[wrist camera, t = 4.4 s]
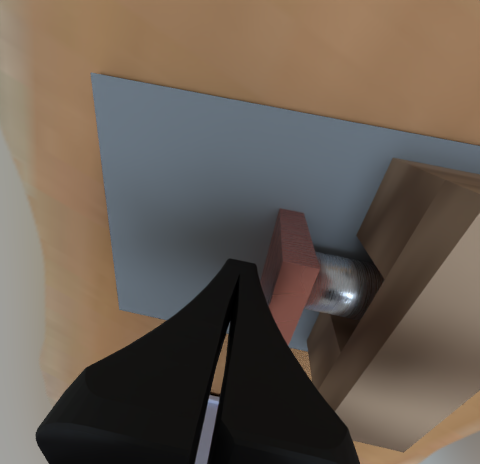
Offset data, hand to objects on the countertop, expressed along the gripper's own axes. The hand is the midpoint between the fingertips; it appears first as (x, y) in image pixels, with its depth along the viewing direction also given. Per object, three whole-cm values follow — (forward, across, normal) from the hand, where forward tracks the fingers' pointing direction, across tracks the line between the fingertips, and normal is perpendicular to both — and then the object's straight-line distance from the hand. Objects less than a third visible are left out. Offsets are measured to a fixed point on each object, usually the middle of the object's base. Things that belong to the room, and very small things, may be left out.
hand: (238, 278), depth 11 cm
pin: (+2, -5, 0) cm, 5 cm away
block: (+2, -7, 0) cm, 8 cm away
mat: (+3, -2, 0) cm, 4 cm away
